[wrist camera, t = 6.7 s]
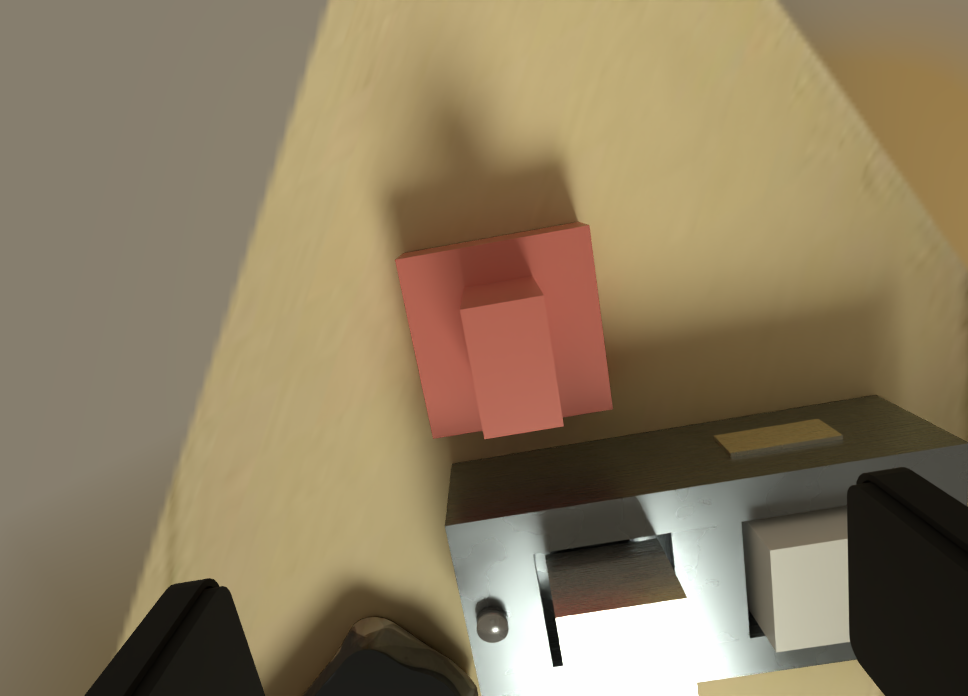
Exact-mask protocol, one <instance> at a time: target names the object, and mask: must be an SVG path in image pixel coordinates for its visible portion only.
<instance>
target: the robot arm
mask: <svg viewBox="0 0 968 696" xmlns="http://www.w3.org/2000/svg"><path fill="white" fill-rule="evenodd" d="M847 533H848V593H849V637H850V643H851V647H852V649H853V652H854V654H855V656H856V658H857V660H858V662H859V663H860V665H861V666H862V667H863V669H864V670H865V671H866V672H867V674H868V675H869V676H870V677H871V679H872V680H873V681H874V682H875V684H876V685H877V686H878V687H879V689H880V690H881V691H882V692H883V694H884V695H885V696H968V507H967V506H966V505H964V504H963V503H961V502H960V501H958V500H957V499H955V498H954V497H952V496H951V495H949V494H947V493H946V492H944V491H943V490H941V489H940V488H938V487H937V486H935V485H934V484H932V483H931V482H929V481H928V480H926V479H924V478H923V477H921V476H920V475H918V474H917V473H915V472H914V471H912V470H910V469H908V468H906V467H898V468H892V469H885V470H879V471H873V472H867V473H862V474H861V475H859V477H858V479H857V481H856V485H852V486H850V487H849V489H848V491H847ZM85 696H265V694H264V691H263V688H262V685H261V682H260V679H259V676H258V673H257V670H256V667H255V664H254V661H253V658H252V655H251V652H250V649H249V646H248V643H247V640H246V637H245V634H244V631H243V628H242V625H241V622H240V619H239V616H238V613H237V610H236V607H235V604H234V602H233V599H232V596H231V593H230V591H229V590H228V589H227V587H224V586H221V587H219V585H218V583H217V582H216V581H215V580H214V579H210V578H209V579H203V580H196V581H190V582H184V583H178V584H174V585H171V586H170V587H169V588H168V589H167V590H166V591H165V592H164V593H163V595H162V596H161V597H160V598H159V600H158V601H157V602H156V604H155V605H154V606H153V608H152V609H151V610H150V611H149V613H148V614H147V615H146V617H145V618H144V619H143V620H142V622H141V623H140V624H139V626H138V627H137V628H136V630H135V631H134V632H133V633H132V635H131V636H130V637H129V639H128V640H127V641H126V642H125V644H124V645H123V646H122V648H121V649H120V650H119V652H118V653H117V654H116V655H115V657H114V658H113V659H112V661H111V662H110V663H109V664H108V666H107V667H106V668H105V670H104V671H103V672H102V674H101V675H100V676H99V678H98V679H97V680H96V681H95V683H94V684H93V685H92V687H91V688H90V689H89V690H88V692H87V693H86V694H85Z"/></svg>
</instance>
